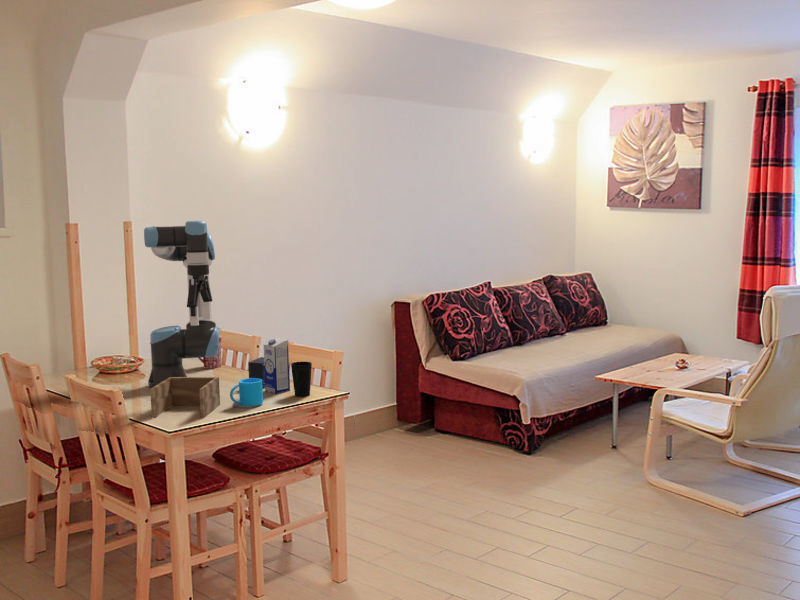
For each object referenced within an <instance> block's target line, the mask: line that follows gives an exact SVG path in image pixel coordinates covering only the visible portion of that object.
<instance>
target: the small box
mask: <svg viewBox="0 0 800 600" xmlns="http://www.w3.org/2000/svg"><path fill="white" fill-rule="evenodd" d="M247 363H248V378H259V379H262V389H263V390H264V389H265V368H264V356H261V357H258V358H256V359H253V360H250V361H248V362H247Z"/></svg>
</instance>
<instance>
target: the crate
mask: <svg viewBox="0 0 800 600" xmlns="http://www.w3.org/2000/svg"><path fill="white" fill-rule="evenodd" d="M149 389H150V388H149ZM149 393H150V394H149V395H150V408H151V409H150V410H151V418H152V419H155V418H157V417H159V415H162V413H164V412H166V411H167V410H168V409H170V408H171V407H172V406H199V407H200V419H205V418H206V417H208V415H210V414H211V413H212V412H213V411H214V410H215V409H217V408H218V407H219V406H220V405H221V397H220V395H221V394H220V377H219V376H193V377H192V376H187V377H169V378H168V379H166V380H164V381H163V382H161V383H159V384H158V385H156V386H154V387H153V388H151V389H150V390H149Z"/></svg>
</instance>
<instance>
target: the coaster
mask: <svg viewBox="0 0 800 600" xmlns="http://www.w3.org/2000/svg"><path fill="white" fill-rule="evenodd" d="M238 401H239V402H240V400H238ZM261 405H262V404H260V405H256V406H243V405H240V404H238V403H235V402H233V403H232V406H233V407H234V408H237V409H252V408H257V407H259V406H261Z"/></svg>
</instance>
